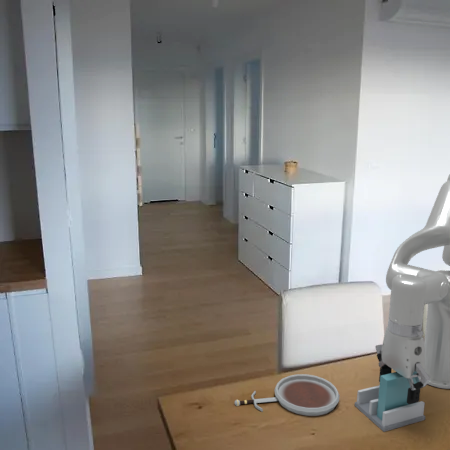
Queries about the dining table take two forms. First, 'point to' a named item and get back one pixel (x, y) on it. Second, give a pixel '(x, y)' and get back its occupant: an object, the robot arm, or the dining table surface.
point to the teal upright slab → (392, 392)
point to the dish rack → (391, 418)
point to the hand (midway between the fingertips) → (398, 391)
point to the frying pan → (302, 395)
